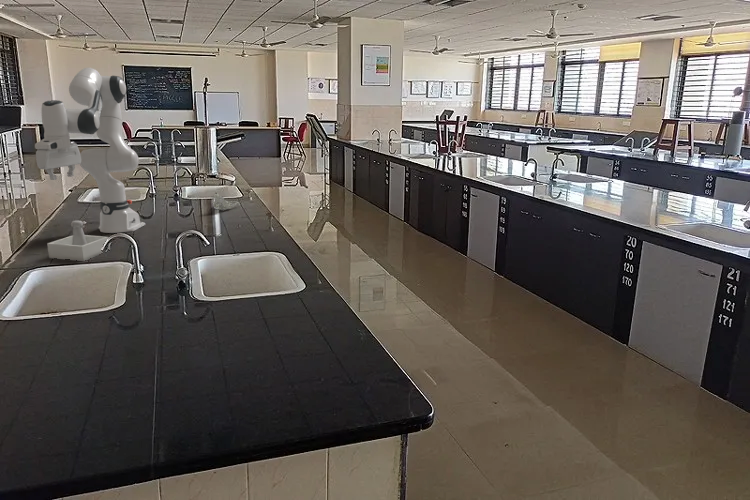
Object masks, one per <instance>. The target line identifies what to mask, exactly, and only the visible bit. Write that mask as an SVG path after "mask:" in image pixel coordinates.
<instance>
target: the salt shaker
mask: <svg viewBox="0 0 750 500" xmlns="http://www.w3.org/2000/svg"><path fill="white" fill-rule="evenodd" d="M70 226H71V227H72V235H73V239H72V245H79V246H82V245H85V244H87V242H86V239H85V236H84V235H85V232H84V230H83V228H82V227H84V223H83V221H82V220H72V221H71V223H70Z"/></svg>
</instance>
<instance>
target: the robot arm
mask: <svg viewBox="0 0 750 500" xmlns="http://www.w3.org/2000/svg"><path fill="white" fill-rule="evenodd" d="M68 92H69V95H70V97H71V99H72V100H73V101H74V102H76V103H77V104H79V105H82V106H85V107H86V106H87V108H66V106H65V103H64V102H63V101H62V100H58V99H57V100H56V99H55V100H52V99H51V100H47V101H44V102H42V104H41V122H42V127H43V130H44V133H43V137H44V138H43V139H40V140H39V141H38V142H36V143H34V149H36V151H35V160H36V166H37V168H38V170H39V169H40V170H45V171H46V172H47V175H49V180H50V181H55V180H57V174H55V173H54V170H55V169H57V168H64V167H68V171H67V172H66V173H67V177H69V178H70V177H74V176H75V174H74V172H75V169H76V165H80V167H81V168H82V169H83V171H85V172H87V173H88V174H89V175H91V177H92V178H93V179H94V181H95V182H96V184H97V187H98V193H99V198H100V201H99V207H100V210H101V211H100V212H99V226H98V230H99V231H100V232H101V233H104V234H105V233H106V234H108V233H109V234H114V233H115V234H117V233H126V232H127V233H128V232H135V231H137V230H138V229H140V228H142V227H143V226H146V223H145V222H143V221H141V220H140V215H139V213H138V212H136V211H135V210H133V209H132V208H131V207H130V206H129V205H132V203H133V201H132V199H126V198H127V197H126V188H125V187H126V186H125V184H124V183H123V182H122V181H121V180H119V179H116V178H114V177H113V176H112V174H111V173H126V172H131V171H132V172H133V171H135V170H136V169H137V168H138V166H139V161H140V159H139V156H138V153H137V152H136V151H135V150H134V149H133V148H131V147H130V146H129V145H128V144H127V143H126V141H125V139H124V134H123V133H124V132H123V114H122V113H123V112H122V108H121V104H120V103H122V101H123V99H125V97H126V95H127V85H126V82H125V80H124V79H123V78H122V77H121V76H118V75H111V76H110V75H101V74H100V72H99V71H98V70H97V69H95V68H93V67H84V68H83V69H81V70H80V71H78V72H77V73H76V74H75V76H74V77H73V78H72V80H71V82H70V83H69V87H68ZM95 133H96V136H97V138H98V139H99V140H101V141H102V142H104V143H107V144H109V147H106V148H103V147H102V148H99V147H97V148H96V147H95V148H88V149H83V150H81V152H80V149H79V147H78V144H77V143H76V142H75V141H71V139H70V138H71V137H70V134H85V135H94V134H95Z"/></svg>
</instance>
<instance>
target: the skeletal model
mask: <svg viewBox="0 0 750 500" xmlns="http://www.w3.org/2000/svg"><path fill="white" fill-rule="evenodd" d="M211 199H213V200H214V201H211V204H212V206H213V208H215V209H217V210H220V211H221V210H225V211H226V210H229V209H233V208H234V207H235V206H237V205H238V206H240V207H241V204H240V202H238V201H233V200H231V201H227V200H226V199H225V197H224V196H222V195H219V192H218V191H215V193H214V195H213V196H212V197H211Z"/></svg>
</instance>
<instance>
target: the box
mask: <svg viewBox="0 0 750 500" xmlns="http://www.w3.org/2000/svg"><path fill="white" fill-rule="evenodd" d="M84 236H85V239H86V242H87V244H85V245H82V246H79V245H72V239H73V234H72V235H69V236H67V237H64V238H59V239H57V240H54V241H51V242H47V243H46V244H47V251H48V259H54V258H57V259H58V260H65V259H70V260H69V261H76V260H77V261H78V262H86V261H87V260H90V258H91V259H93V258H95V257H99V256H100V255H99V254H101V253H103V252H102V251H101V248H102V246H103V244H104V243H105V241H106V240H107V239H108V238H109V239H110V237H109V236H101V235H90V234H89V235H88V234H84ZM108 249H109V250H110V251H111V245H109V248H108ZM103 254H104V253H103ZM101 255H102V254H101ZM85 260H86V261H85Z"/></svg>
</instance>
